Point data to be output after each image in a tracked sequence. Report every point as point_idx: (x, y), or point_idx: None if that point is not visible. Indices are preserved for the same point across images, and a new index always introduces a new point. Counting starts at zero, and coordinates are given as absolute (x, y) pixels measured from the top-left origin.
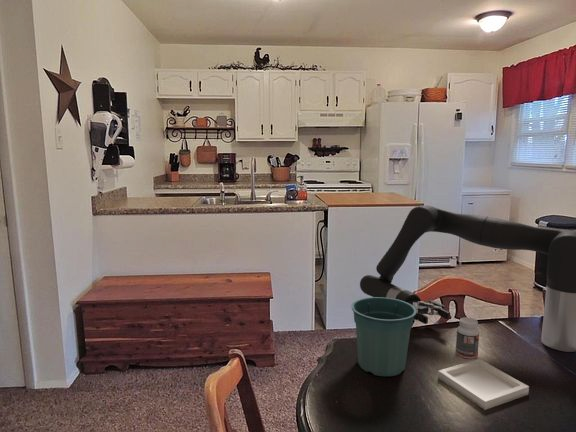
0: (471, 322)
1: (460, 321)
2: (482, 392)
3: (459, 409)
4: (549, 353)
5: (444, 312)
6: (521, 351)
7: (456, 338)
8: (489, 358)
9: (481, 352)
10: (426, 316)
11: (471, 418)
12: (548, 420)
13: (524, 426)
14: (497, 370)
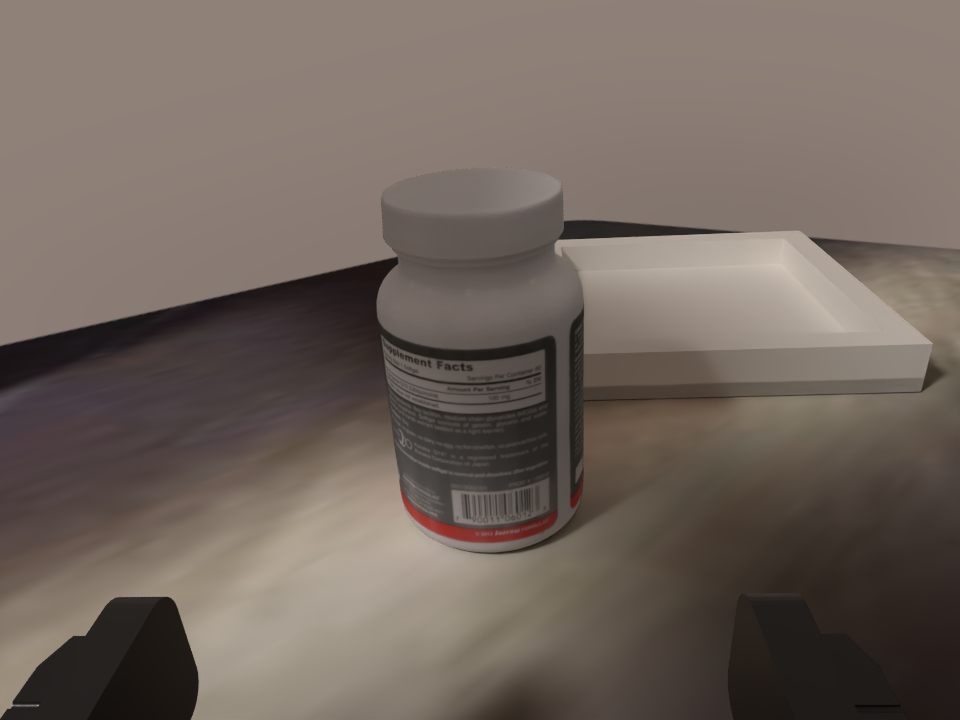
0: (487, 175)
1: (558, 199)
2: (739, 286)
3: (906, 279)
4: (21, 379)
5: (124, 693)
6: (106, 423)
7: (563, 408)
8: (391, 429)
9: (353, 483)
10: (755, 616)
11: (879, 258)
12: (606, 230)
13: (707, 230)
14: None
